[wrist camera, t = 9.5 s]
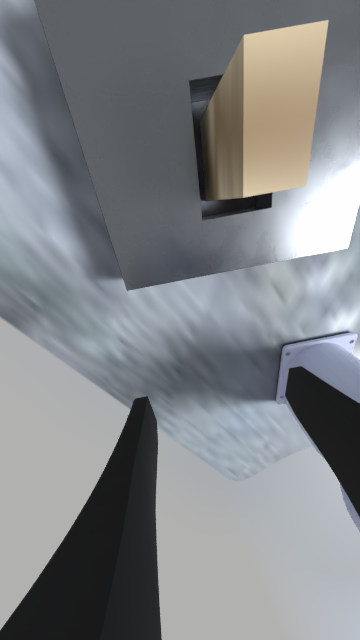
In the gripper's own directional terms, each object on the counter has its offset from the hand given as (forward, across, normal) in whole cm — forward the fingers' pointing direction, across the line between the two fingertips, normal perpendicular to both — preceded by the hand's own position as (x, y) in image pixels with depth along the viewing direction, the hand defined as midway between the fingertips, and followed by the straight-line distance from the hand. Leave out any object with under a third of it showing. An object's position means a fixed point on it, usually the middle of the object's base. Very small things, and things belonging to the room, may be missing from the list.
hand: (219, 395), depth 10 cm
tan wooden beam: (+9, -4, -11) cm, 15 cm away
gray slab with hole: (+9, -4, -10) cm, 15 cm away
